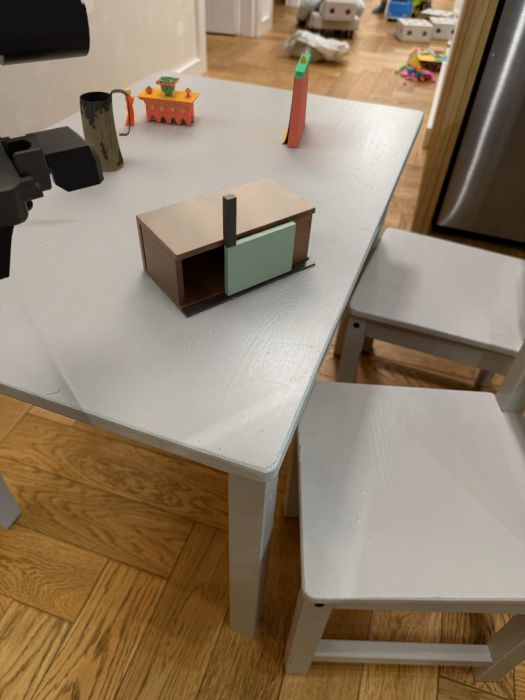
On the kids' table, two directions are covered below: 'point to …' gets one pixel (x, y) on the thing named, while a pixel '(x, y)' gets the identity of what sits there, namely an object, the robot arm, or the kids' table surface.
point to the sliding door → (254, 251)
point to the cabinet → (216, 240)
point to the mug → (102, 127)
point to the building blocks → (181, 102)
